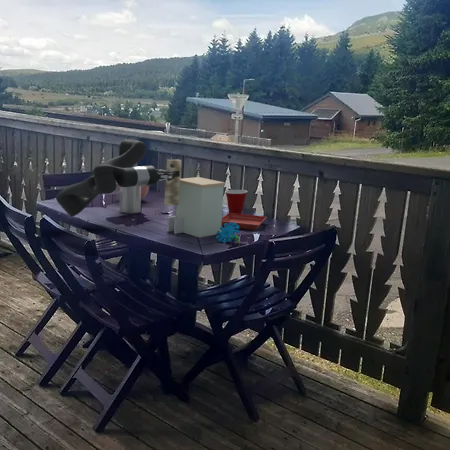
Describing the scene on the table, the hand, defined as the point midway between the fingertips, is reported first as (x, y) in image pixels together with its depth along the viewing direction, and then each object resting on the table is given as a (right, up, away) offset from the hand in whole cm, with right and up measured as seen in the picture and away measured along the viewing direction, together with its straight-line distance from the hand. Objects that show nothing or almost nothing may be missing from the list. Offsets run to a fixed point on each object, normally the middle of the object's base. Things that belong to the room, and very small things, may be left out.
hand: (177, 173), depth 213 cm
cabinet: (+7, -24, +5) cm, 25 cm away
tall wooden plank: (-3, -12, +1) cm, 13 cm away
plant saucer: (+27, -21, +24) cm, 42 cm away
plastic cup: (+24, -16, +42) cm, 51 cm away
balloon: (-30, -8, +60) cm, 68 cm away
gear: (+20, -28, -6) cm, 35 cm away
